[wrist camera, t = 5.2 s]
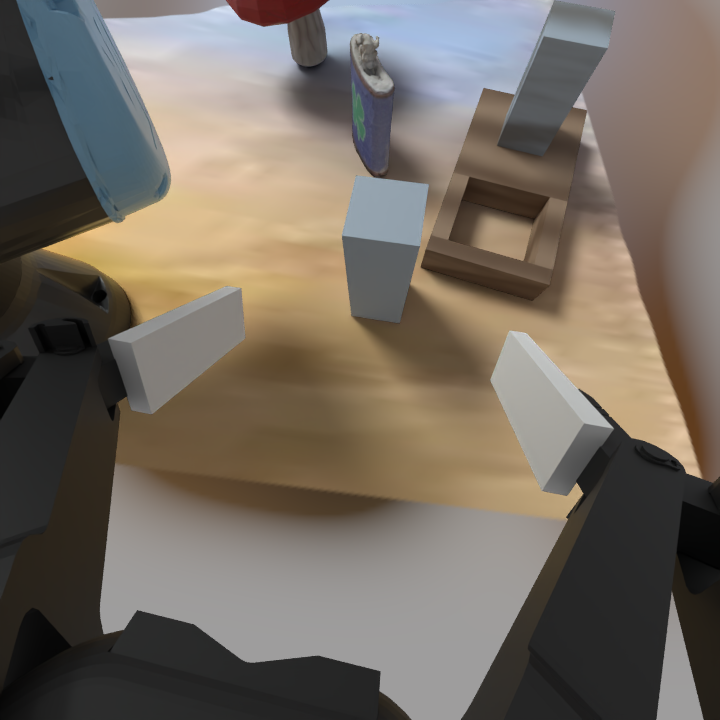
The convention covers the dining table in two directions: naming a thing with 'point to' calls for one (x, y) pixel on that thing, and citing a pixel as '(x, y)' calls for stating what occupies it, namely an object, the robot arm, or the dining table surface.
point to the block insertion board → (525, 155)
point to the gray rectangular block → (382, 245)
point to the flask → (370, 104)
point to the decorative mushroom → (290, 24)
